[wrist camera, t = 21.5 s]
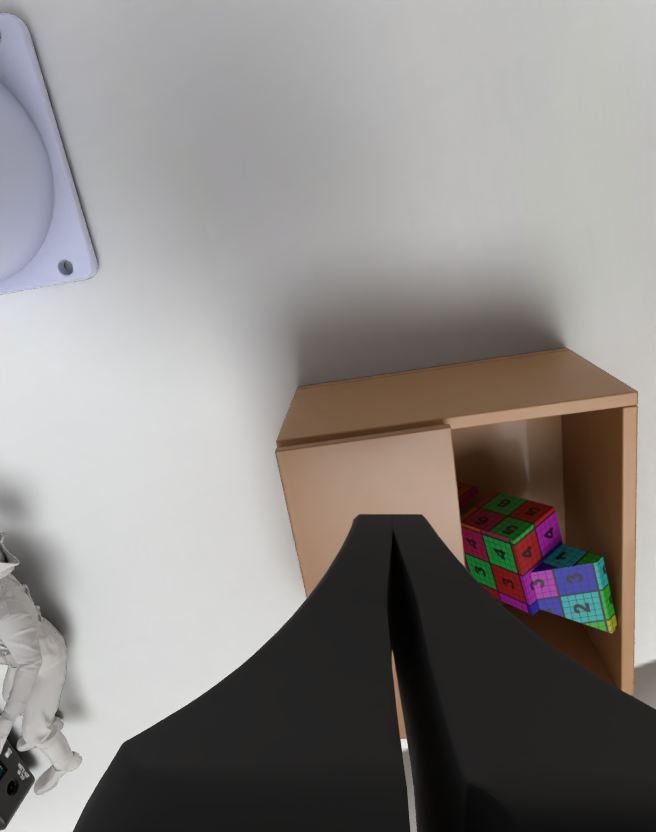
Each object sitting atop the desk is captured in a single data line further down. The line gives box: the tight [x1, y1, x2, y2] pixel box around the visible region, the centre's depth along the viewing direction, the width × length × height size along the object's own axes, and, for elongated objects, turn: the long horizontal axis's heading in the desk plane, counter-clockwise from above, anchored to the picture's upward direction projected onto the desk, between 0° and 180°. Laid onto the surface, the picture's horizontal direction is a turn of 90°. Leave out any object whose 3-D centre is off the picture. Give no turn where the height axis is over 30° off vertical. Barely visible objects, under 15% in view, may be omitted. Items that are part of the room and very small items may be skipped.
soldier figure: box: [0, 532, 82, 795], centre depth 23 cm, size 8×5×12 cm
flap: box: [275, 424, 466, 739], centre depth 16 cm, size 5×11×1 cm, turn 10°
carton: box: [276, 348, 638, 697], centre depth 19 cm, size 10×11×5 cm
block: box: [457, 482, 618, 633], centre depth 18 cm, size 6×4×3 cm
